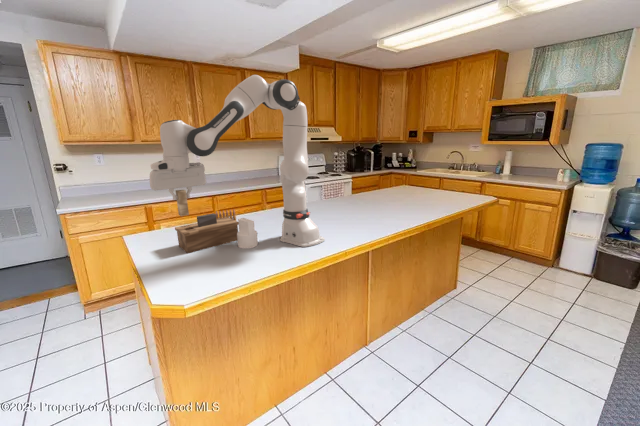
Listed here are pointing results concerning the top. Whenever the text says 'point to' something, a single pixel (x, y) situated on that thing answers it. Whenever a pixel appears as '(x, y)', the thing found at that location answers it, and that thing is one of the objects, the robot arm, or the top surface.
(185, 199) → the pin
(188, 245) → the toolbox
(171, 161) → the robot arm
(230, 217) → the ammunition clip
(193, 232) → the lid
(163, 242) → the top surface
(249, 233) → the base with upright slab
